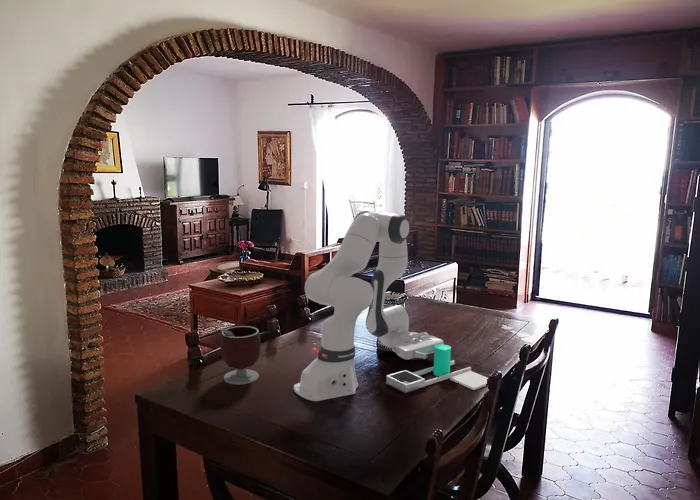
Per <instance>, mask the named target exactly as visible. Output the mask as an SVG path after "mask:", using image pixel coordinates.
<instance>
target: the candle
mask: <svg viewBox="0 0 700 500" xmlns="http://www.w3.org/2000/svg"><path fill="white" fill-rule="evenodd" d="M451 351H452V346H450V345H447V344H444V345H435V350H434V353H433V356H434V357H433V366H434V371H433V375H434V376H436V377H438V376H443V375H446V374H449V373H451V366H450V361H451V353H452V352H451Z"/></svg>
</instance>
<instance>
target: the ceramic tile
mask: <svg viewBox="0 0 700 500" xmlns="http://www.w3.org/2000/svg"><path fill="white" fill-rule="evenodd" d="M488 378H489V377H487V376H484V375H483V374H479V373H477V372H475V371H472V370H471V371H469V372H466V373H463V374H460V375H457V376H454V377H450V378H449V380H450V381H451V382H455V383H457V384H458V383H459V385H461V386H464V387H466V388H468V389H470V390H473V391H475V390H479V389H481V388H483V387H487V386H486V384H487V379H488Z"/></svg>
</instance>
